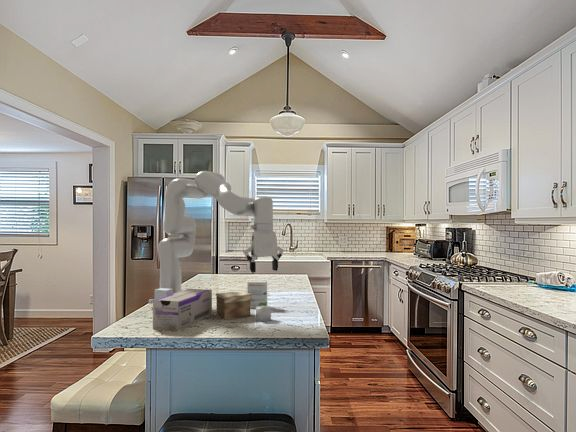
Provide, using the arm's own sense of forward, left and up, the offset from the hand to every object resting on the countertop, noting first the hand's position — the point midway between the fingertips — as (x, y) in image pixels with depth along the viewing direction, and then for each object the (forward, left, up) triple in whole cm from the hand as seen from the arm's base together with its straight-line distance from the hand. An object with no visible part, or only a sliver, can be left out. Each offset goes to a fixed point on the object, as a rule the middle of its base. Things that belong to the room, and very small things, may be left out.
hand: (264, 271), depth 152 cm
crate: (-8, +13, -19) cm, 25 cm away
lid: (-8, +13, -13) cm, 20 cm away
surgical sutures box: (-28, +14, -20) cm, 37 cm away
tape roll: (0, 0, -19) cm, 19 cm away
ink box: (+8, +22, -20) cm, 31 cm away
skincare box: (-34, +21, -20) cm, 45 cm away
